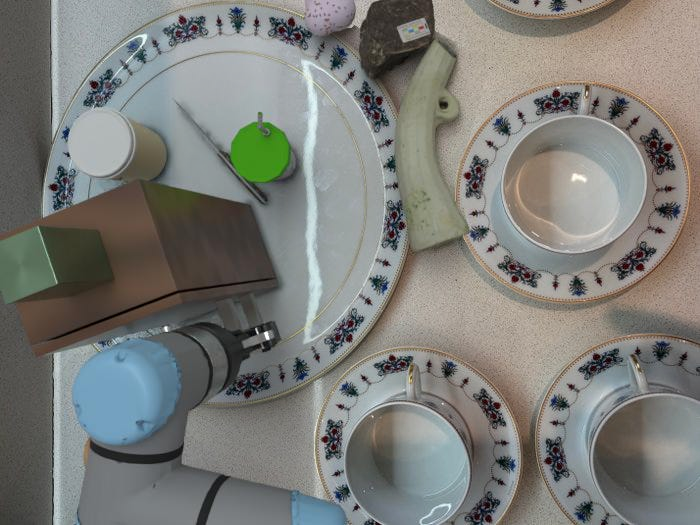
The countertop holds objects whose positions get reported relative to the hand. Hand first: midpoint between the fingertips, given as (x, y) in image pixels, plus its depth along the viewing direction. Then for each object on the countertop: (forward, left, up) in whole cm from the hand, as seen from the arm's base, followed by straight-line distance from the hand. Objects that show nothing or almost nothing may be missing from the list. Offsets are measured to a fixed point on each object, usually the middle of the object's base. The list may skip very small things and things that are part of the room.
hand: (262, 334), depth 88 cm
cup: (+22, -9, -7) cm, 24 cm away
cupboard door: (+3, +5, -7) cm, 9 cm away
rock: (+35, -26, -3) cm, 43 cm away
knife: (+27, -1, -7) cm, 28 cm away
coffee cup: (+30, +10, -7) cm, 33 cm away
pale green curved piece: (+17, -24, -2) cm, 30 cm away
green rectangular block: (+12, +5, +27) cm, 30 cm away
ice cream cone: (+46, -29, -6) cm, 55 cm away
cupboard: (+12, +5, -7) cm, 15 cm away
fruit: (-9, +27, -7) cm, 30 cm away
